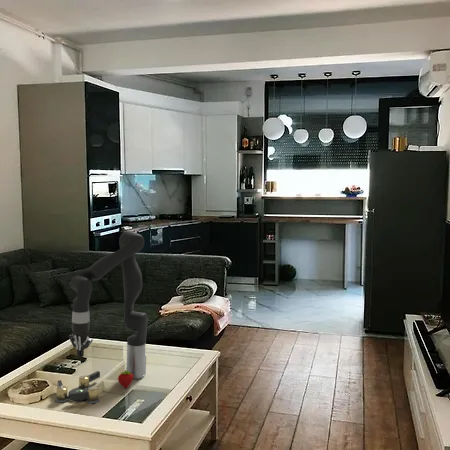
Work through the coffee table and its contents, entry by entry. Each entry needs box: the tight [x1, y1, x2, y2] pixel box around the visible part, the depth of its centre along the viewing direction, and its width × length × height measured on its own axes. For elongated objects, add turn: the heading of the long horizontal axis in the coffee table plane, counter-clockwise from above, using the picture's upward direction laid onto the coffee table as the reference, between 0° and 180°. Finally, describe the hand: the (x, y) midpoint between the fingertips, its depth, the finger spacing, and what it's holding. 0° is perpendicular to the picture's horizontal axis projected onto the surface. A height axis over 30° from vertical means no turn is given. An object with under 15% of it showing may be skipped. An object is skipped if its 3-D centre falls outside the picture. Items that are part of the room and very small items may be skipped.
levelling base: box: [55, 385, 100, 405], centre depth 227 cm, size 20×18×3 cm
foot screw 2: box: [69, 386, 99, 401], centre depth 223 cm, size 12×5×5 cm, turn 113°
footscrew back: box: [78, 370, 101, 388], centre depth 239 cm, size 12×5×5 cm, turn 152°
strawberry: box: [117, 369, 134, 389], centre depth 238 cm, size 6×8×10 cm
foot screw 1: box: [56, 379, 68, 400], centre depth 227 cm, size 12×5×5 cm, turn 25°
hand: (80, 357), depth 226 cm, fingers closed
